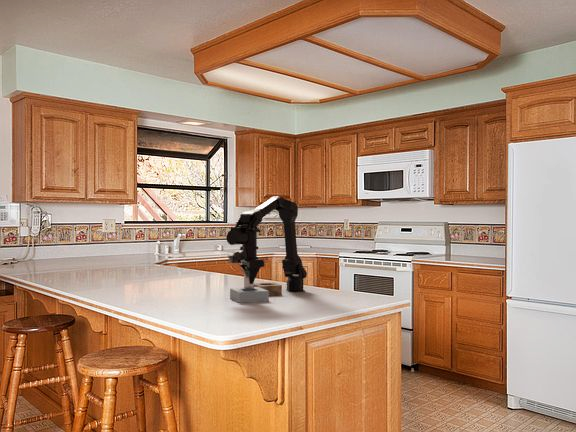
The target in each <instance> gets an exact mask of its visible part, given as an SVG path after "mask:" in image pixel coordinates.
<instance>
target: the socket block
mask: <svg viewBox="0 0 576 432" xmlns="http://www.w3.org/2000/svg"><path fill="white" fill-rule="evenodd" d="M229 298H230V300H232V301H235V302H236V303H239V304H245V303H260V302H269V301H270V299H269V298H270V295H269V291H268V290H265V289H262V288H260V287H254V291H244V287H230V288H229Z"/></svg>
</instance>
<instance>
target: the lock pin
mask: <svg viewBox="0 0 576 432" xmlns="http://www.w3.org/2000/svg"><path fill="white" fill-rule="evenodd" d="M243 272H244V273H243ZM242 273H243V288H244V291H254V283H255V281H254V282H253V284H250V283H249V275H248V270H247V269H244V270H243V269H242Z"/></svg>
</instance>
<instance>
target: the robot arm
mask: <svg viewBox="0 0 576 432" xmlns="http://www.w3.org/2000/svg"><path fill="white" fill-rule="evenodd" d="M274 210H275V211H277V214H278V217H279V218H280V219H279V220H281V221H282V223H283V234H284V244H285V245H284V246H285V257H284V259H282V260H281V264H282V266H281V267H282V270H283V273H284V274H283V275H284V277H285V278H287V280H286V290H285V291H287V292H290V293H303V292H306V290H304V279H306V278H307V275H308V273H307V271H306V269H305V267H304V266H303V261H302V258H301V257H300V255H299V254H298V246H297V245H298V244H297V234H296V233H297V232H296V220H297V218H298V213H299V208H298V204H297V203H296V202H295V201H291V200H288V199H286V198H284V197H282V196H277V195H275V196H271V197H270V198H269V199H268V200H267V201H265V202H263V203H262V204H260V205H258V206H257V207H256V208H254V209H249V210H246V211H243V212H241V214H240V217H239V218H238V219H237V220H238V221H237V222H236V224H235V226H234V227H232V226H231V227H230V230H229V231H227V234H226V241H227V243H228V245H230V246H237V245H241V246H239V250H237V251H234V252H232V253H229V254H227V258H228V260H229V263H230V264H236V265H237V264H238V266H239V267H240V268H241V269H242V273H243V274H244V272H243V270H244V269H247V270H248V275H249V283H250V284H253V282H254V283H255V279H256V277H257V275H258V273H259V271H260V269H261V268H265V267H266V266H265V264H266V262H265V260H263V259H262V258H259V256H257V252H258V251H257V250H259V246H258V245H257V244H258V241H257V240H258V233H261V230H260V229H259V228H258V226H259V225H260V224H261V223H262V222H263V218H264V217H266V216H267V215H269V214H270V213H271V212H273V211H274Z"/></svg>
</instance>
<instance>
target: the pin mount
mask: <svg viewBox="0 0 576 432" xmlns="http://www.w3.org/2000/svg"><path fill="white" fill-rule="evenodd" d="M282 286H283V285H282V284H279V283H276V282H269V281H268V282H254V287H260V288H262V289H265V290H268V291H269V296H282V295H283V292H282V291H283V287H282Z"/></svg>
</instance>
